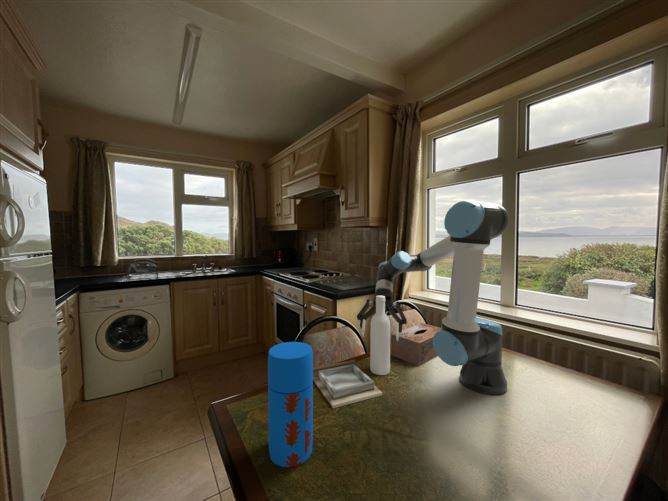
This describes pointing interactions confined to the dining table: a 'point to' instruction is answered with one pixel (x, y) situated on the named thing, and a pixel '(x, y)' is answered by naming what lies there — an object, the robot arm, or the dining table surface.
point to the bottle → (380, 339)
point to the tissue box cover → (415, 344)
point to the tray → (344, 383)
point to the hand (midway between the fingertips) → (379, 337)
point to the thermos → (290, 403)
